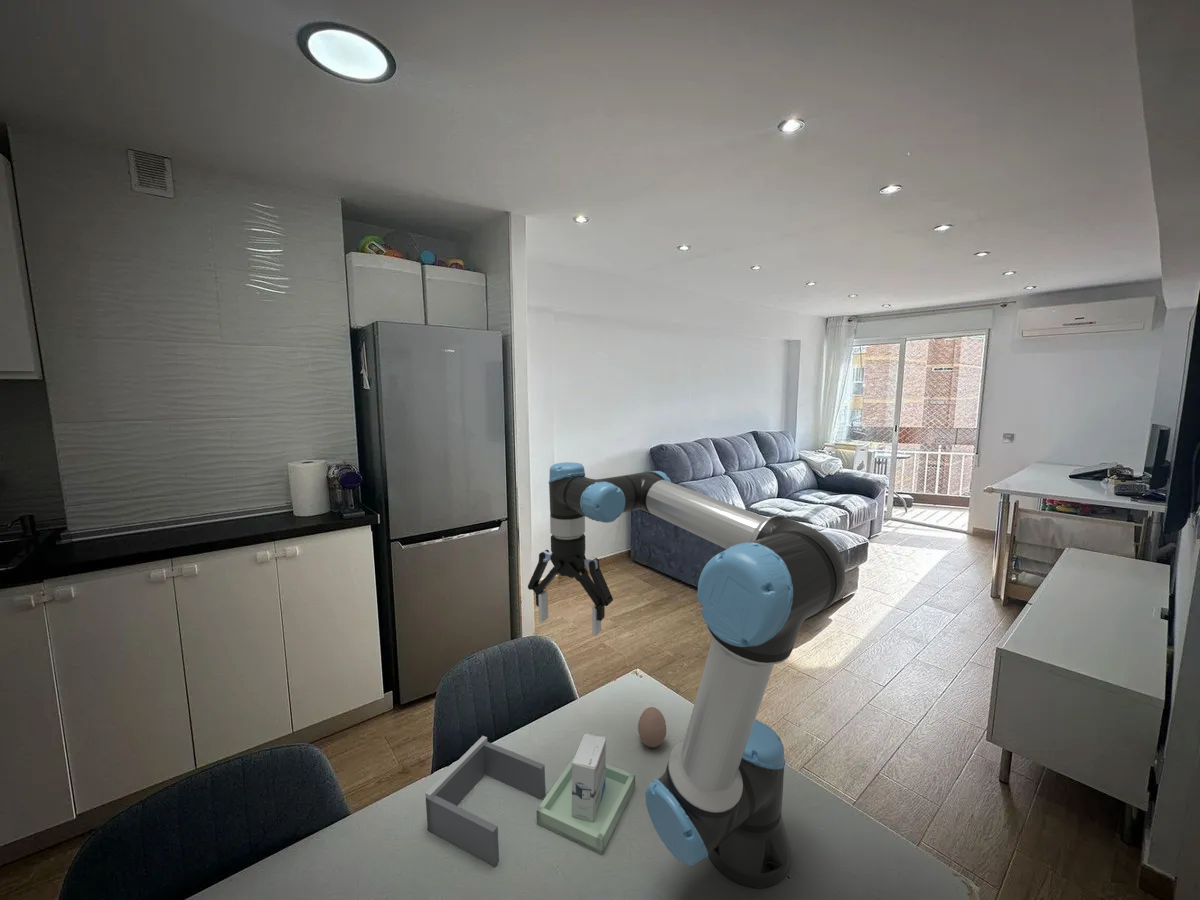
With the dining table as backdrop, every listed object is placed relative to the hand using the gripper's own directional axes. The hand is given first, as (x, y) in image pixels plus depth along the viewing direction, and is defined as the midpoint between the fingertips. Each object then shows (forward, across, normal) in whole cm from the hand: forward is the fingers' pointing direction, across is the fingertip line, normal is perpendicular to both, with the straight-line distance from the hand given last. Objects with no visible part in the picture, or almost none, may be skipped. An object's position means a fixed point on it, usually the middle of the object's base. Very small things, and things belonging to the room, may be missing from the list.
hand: (569, 626), depth 106 cm
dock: (+31, +7, +21) cm, 38 cm away
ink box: (+30, -10, +11) cm, 34 cm away
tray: (+31, -10, +11) cm, 34 cm away
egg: (+31, -16, -10) cm, 36 cm away
